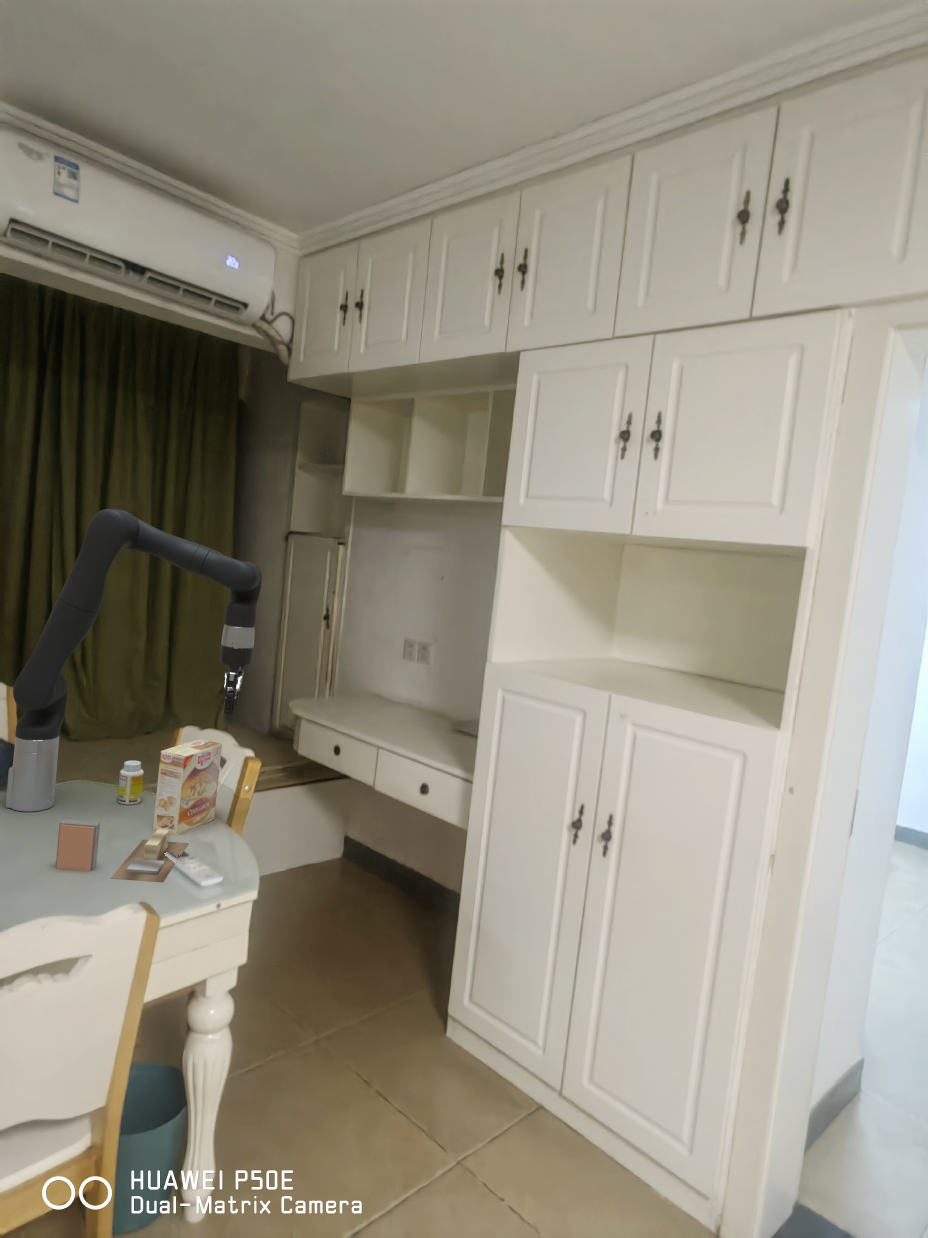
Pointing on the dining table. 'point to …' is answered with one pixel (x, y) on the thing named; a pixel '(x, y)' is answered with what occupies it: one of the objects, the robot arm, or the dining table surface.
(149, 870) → the turner
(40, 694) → the robot arm
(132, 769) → the supplement bottle
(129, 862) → the board
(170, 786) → the coffeecake box
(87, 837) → the glazed tile
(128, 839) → the dining table surface
